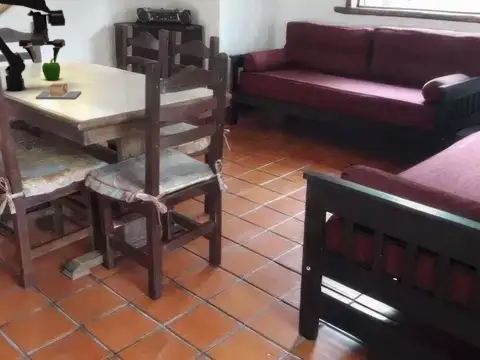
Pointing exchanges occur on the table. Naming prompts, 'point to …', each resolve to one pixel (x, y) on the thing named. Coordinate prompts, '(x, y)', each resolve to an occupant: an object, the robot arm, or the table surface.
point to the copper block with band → (58, 89)
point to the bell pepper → (51, 70)
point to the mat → (66, 96)
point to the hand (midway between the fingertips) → (44, 62)
